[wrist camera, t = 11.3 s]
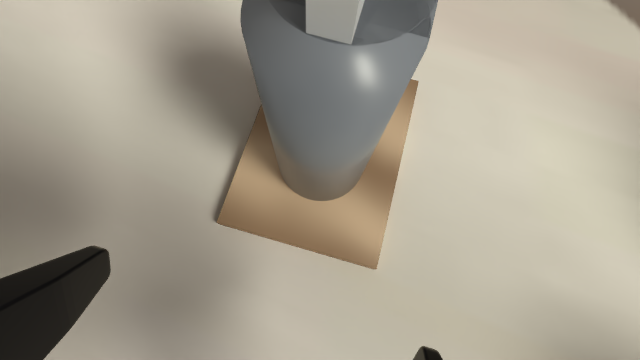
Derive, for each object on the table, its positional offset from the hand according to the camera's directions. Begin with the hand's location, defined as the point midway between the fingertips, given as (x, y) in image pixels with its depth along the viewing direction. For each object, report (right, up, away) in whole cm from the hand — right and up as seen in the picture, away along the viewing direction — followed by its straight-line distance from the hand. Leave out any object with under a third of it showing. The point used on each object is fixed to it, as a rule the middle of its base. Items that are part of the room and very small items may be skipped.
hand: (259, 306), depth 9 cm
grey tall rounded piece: (+2, +5, +10) cm, 12 cm away
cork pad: (+2, +5, +11) cm, 12 cm away
